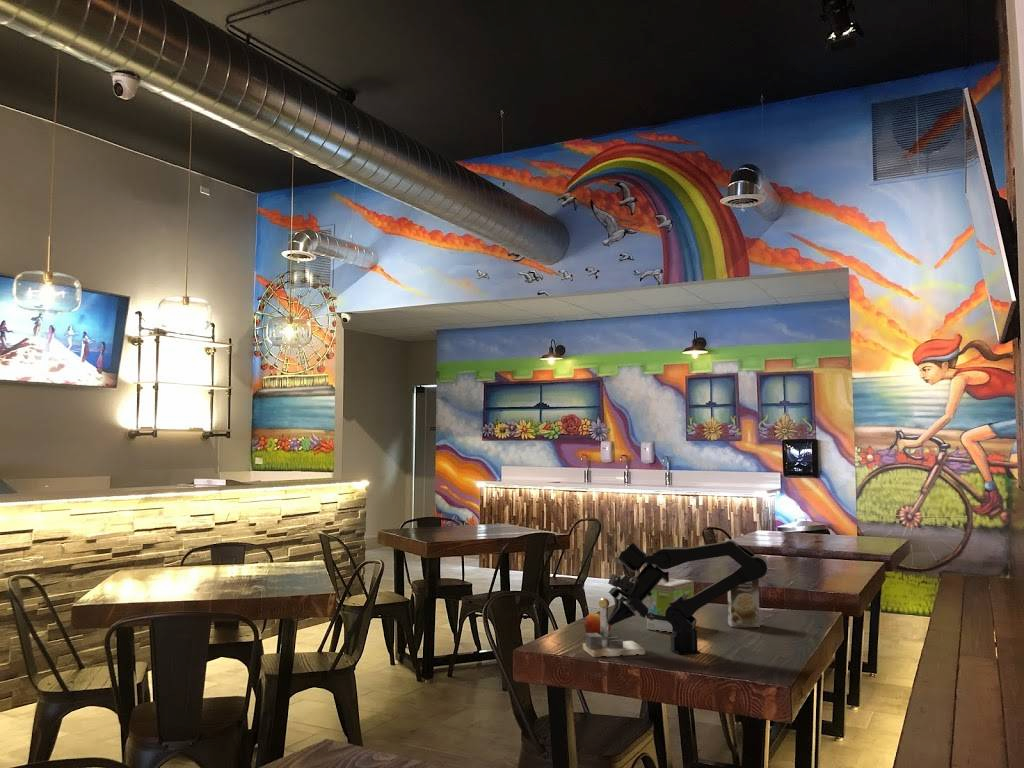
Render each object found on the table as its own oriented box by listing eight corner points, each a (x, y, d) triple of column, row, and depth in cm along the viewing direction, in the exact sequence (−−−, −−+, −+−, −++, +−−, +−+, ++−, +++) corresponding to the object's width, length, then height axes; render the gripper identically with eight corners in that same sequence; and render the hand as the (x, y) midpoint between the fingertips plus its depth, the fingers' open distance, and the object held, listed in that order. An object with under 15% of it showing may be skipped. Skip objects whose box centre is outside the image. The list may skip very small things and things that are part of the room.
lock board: (632, 645, 238) (632, 628, 239) (644, 654, 228) (644, 636, 229) (582, 648, 235) (582, 631, 235) (593, 657, 225) (593, 639, 226)
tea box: (674, 633, 254) (673, 585, 255) (645, 629, 260) (645, 582, 261) (695, 625, 266) (694, 579, 267) (667, 621, 272) (666, 576, 273)
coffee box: (731, 627, 262) (729, 576, 264) (727, 623, 269) (726, 573, 270) (760, 628, 262) (758, 577, 263) (756, 623, 268) (754, 574, 269)
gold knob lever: (607, 644, 233) (607, 596, 234) (611, 647, 230) (610, 598, 231) (588, 645, 232) (588, 597, 233) (592, 648, 229) (591, 599, 230)
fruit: (574, 630, 252) (586, 607, 254) (594, 642, 254) (606, 619, 256) (585, 636, 245) (598, 611, 247) (606, 648, 247) (618, 623, 249)
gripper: (614, 559, 244) (579, 598, 241) (636, 568, 226) (599, 610, 222) (640, 585, 245) (605, 624, 242) (664, 596, 227) (627, 638, 223)
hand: (608, 624), depth 232 cm, fingers closed, pressing on gold knob lever
